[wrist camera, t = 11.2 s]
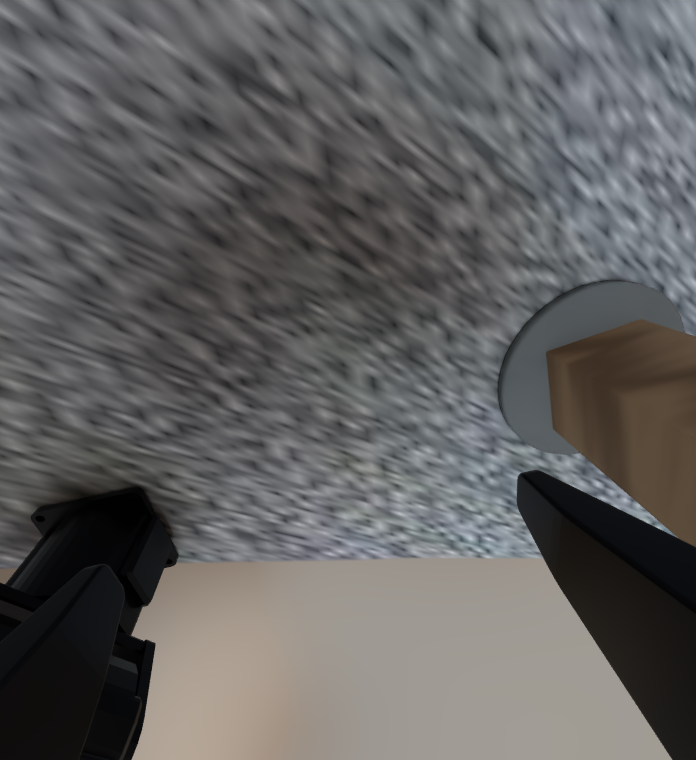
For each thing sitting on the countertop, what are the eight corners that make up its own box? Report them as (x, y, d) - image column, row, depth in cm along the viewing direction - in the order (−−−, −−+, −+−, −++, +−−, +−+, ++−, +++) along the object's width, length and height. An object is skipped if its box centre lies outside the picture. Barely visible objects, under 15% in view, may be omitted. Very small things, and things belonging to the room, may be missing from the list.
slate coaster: (497, 462, 25) (503, 469, 24) (498, 301, 20) (505, 305, 19) (654, 428, 25) (664, 434, 24) (690, 262, 20) (705, 264, 20)
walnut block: (553, 429, 23) (775, 621, 12) (545, 351, 21) (813, 505, 10) (638, 400, 23) (939, 570, 12) (640, 319, 21) (1017, 439, 10)
